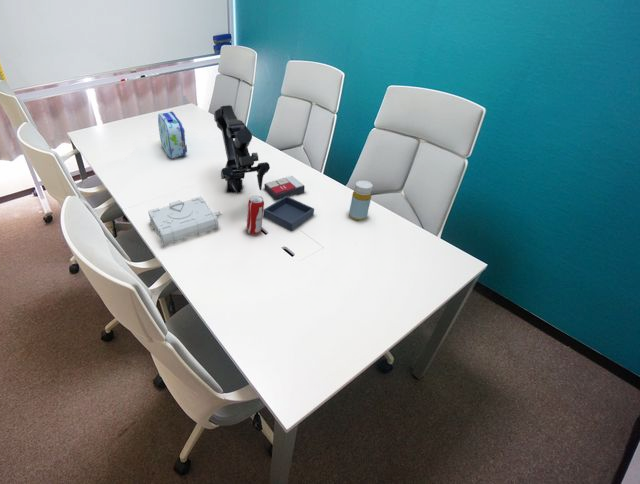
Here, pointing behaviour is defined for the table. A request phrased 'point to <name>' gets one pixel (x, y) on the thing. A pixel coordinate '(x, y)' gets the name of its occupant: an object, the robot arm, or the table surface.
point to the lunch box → (172, 135)
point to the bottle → (360, 200)
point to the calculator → (284, 187)
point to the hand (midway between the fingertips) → (249, 191)
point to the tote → (288, 213)
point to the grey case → (183, 220)
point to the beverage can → (255, 215)
